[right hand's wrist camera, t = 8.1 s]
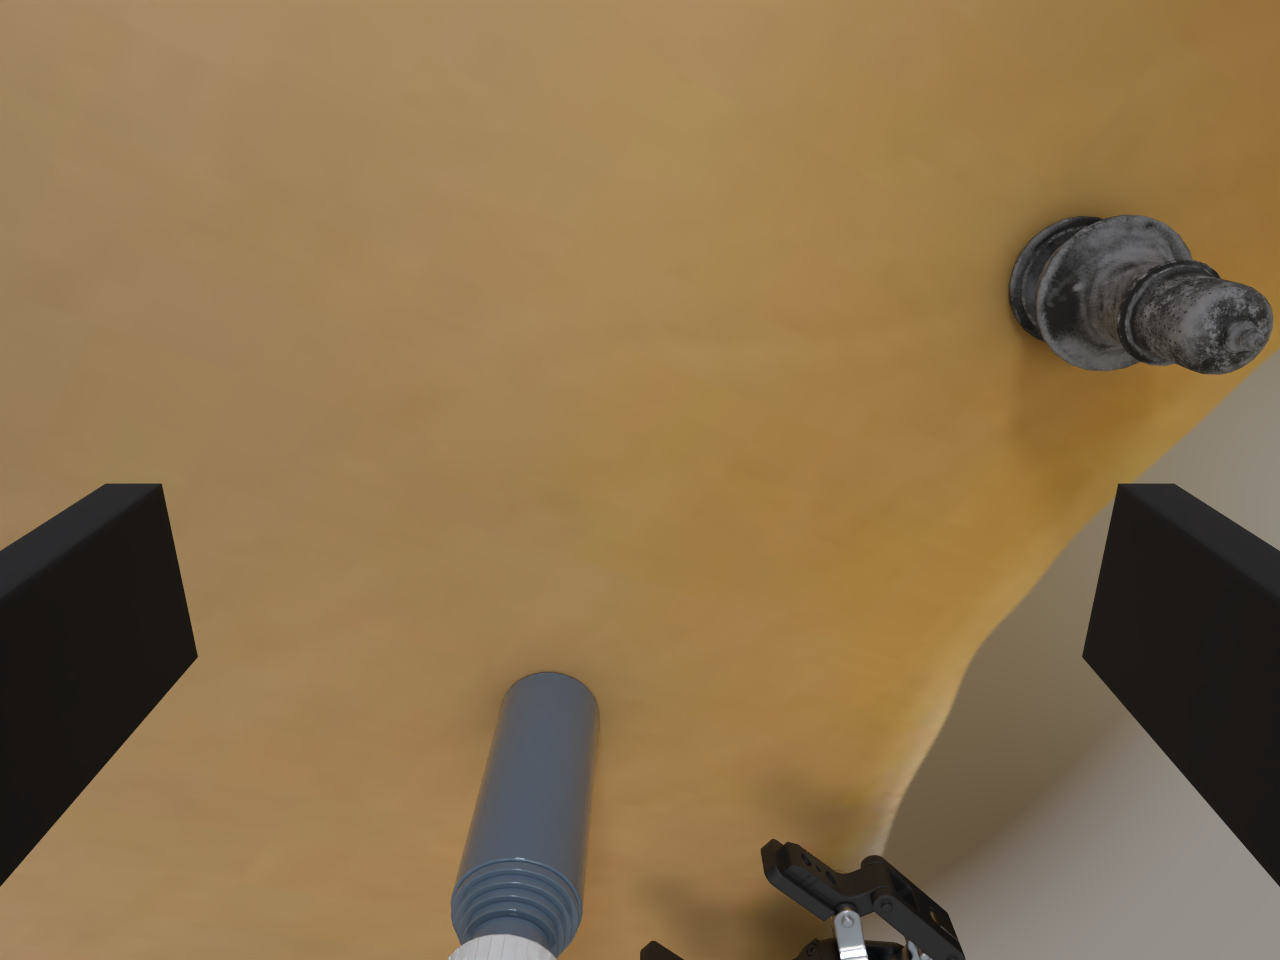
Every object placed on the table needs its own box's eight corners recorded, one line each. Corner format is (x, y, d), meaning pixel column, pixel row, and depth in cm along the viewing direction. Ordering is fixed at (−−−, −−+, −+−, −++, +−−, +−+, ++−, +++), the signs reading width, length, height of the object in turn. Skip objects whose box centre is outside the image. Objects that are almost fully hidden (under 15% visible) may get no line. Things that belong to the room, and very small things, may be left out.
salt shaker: (1174, 274, 37) (1408, 331, 25) (1063, 379, 38) (1237, 476, 27) (1083, 176, 35) (1287, 191, 24) (972, 289, 37) (1114, 352, 26)
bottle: (619, 720, 45) (603, 1037, 29) (545, 769, 46) (490, 1101, 30) (555, 653, 44) (501, 948, 28) (480, 707, 45) (388, 1018, 29)
